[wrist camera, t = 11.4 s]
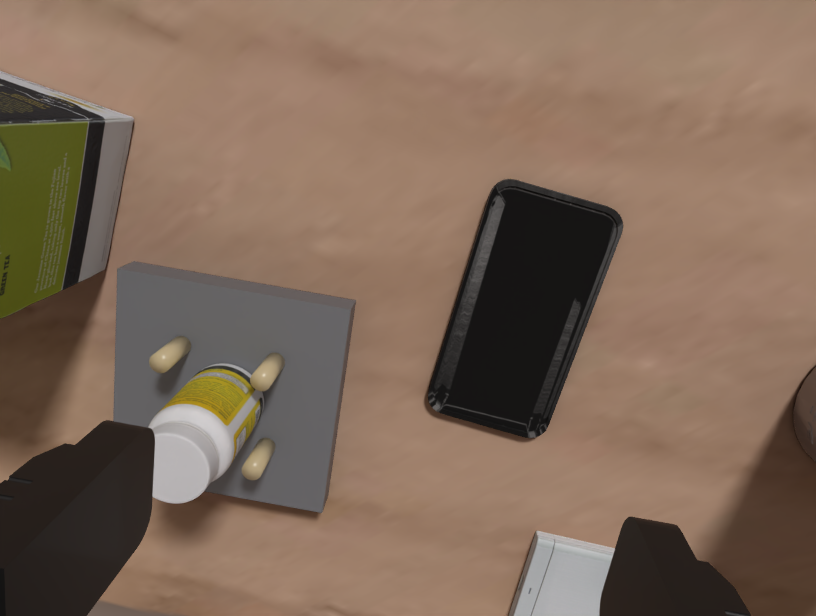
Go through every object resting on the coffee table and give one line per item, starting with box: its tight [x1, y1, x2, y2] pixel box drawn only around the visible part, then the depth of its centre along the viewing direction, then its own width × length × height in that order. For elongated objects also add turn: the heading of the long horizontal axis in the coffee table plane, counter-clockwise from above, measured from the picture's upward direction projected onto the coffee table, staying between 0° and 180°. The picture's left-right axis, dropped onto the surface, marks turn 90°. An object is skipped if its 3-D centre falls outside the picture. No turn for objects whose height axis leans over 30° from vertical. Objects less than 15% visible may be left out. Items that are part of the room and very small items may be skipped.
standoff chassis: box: [113, 261, 356, 513], centre depth 39 cm, size 14×14×5 cm
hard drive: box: [509, 531, 615, 616], centre depth 44 cm, size 2×8×12 cm
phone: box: [428, 179, 623, 438], centre depth 38 cm, size 8×1×15 cm
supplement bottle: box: [148, 363, 264, 504], centre depth 35 cm, size 5×5×8 cm
